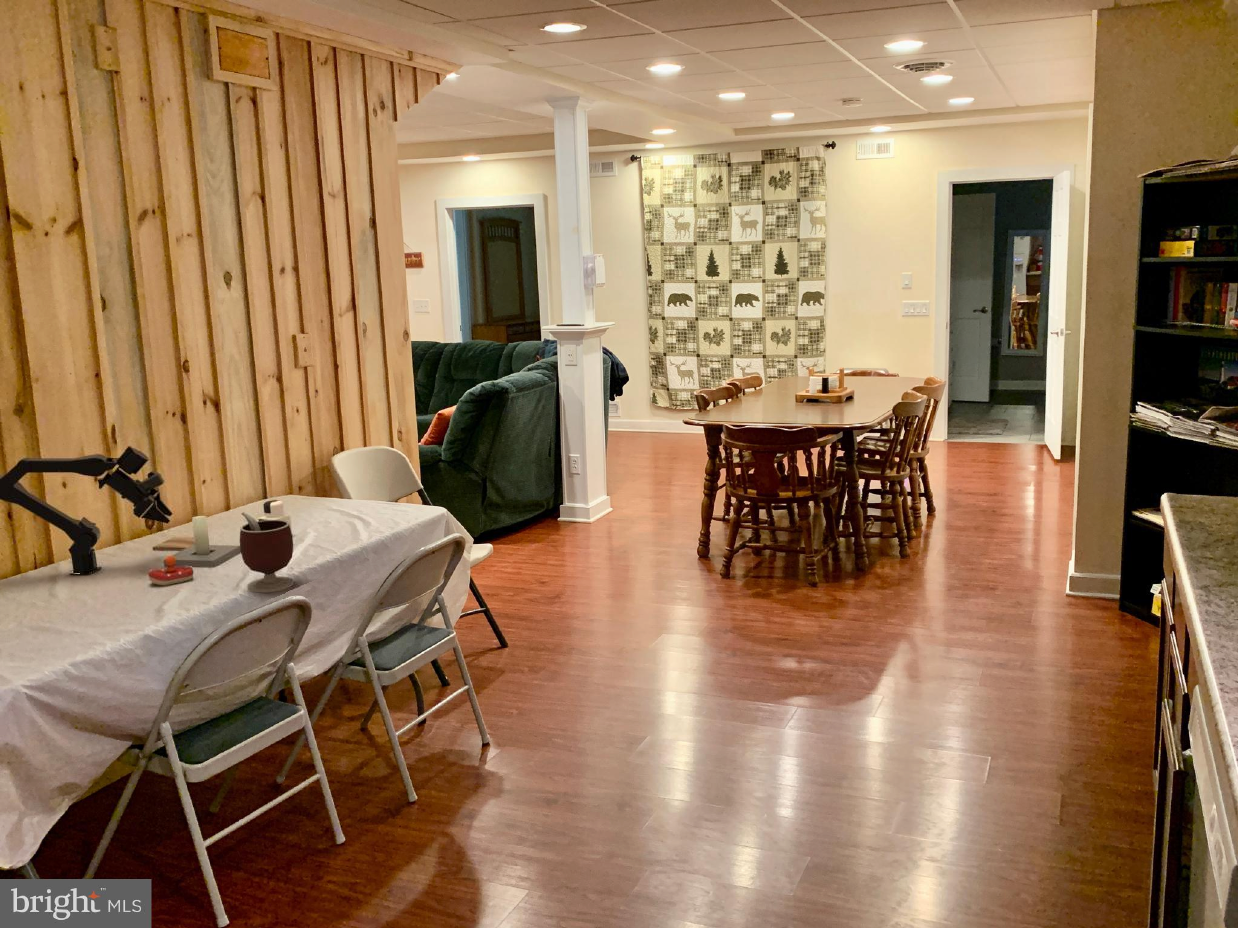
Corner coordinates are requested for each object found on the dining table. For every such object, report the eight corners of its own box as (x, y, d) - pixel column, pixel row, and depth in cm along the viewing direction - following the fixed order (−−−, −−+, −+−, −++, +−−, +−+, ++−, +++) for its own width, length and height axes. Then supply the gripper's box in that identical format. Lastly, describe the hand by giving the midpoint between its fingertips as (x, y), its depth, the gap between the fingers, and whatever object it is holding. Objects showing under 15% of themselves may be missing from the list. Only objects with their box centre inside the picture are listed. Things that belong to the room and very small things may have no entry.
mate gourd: (307, 581, 299) (301, 512, 295) (268, 596, 287) (261, 523, 283) (268, 574, 307) (262, 506, 303) (229, 588, 295) (221, 518, 291)
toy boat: (146, 583, 303) (143, 557, 301) (188, 574, 310) (185, 549, 308) (154, 589, 297) (151, 563, 295) (197, 580, 304) (194, 554, 302)
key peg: (206, 560, 323) (201, 519, 320) (194, 560, 323) (189, 518, 321) (213, 557, 326) (208, 515, 324) (201, 556, 327) (196, 515, 324)
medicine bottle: (260, 539, 346) (256, 502, 343) (276, 533, 352) (273, 498, 349) (276, 541, 342) (272, 504, 340) (292, 535, 349) (289, 499, 346)
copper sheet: (187, 550, 334) (187, 547, 334) (152, 550, 336) (152, 547, 336) (208, 540, 346) (208, 537, 346) (174, 539, 348) (174, 536, 348)
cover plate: (214, 567, 316) (213, 560, 315) (164, 566, 318) (163, 559, 318) (241, 551, 331) (240, 545, 331) (193, 550, 334) (193, 544, 333)
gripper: (140, 471, 306) (186, 504, 312) (147, 459, 323) (190, 491, 329) (114, 500, 305) (160, 533, 311) (122, 487, 323) (166, 519, 328)
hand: (170, 518), depth 320 cm, fingers open, 9 cm apart
